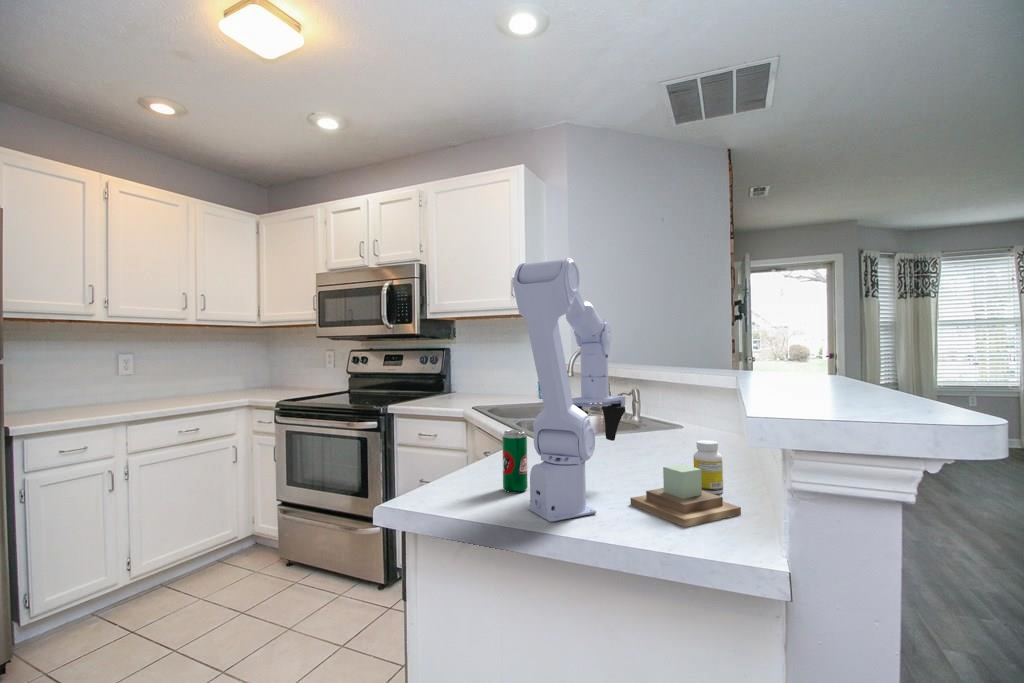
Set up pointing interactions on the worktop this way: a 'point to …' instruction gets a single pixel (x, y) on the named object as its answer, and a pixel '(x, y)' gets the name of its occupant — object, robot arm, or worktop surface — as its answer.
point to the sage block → (682, 481)
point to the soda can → (514, 461)
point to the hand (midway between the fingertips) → (595, 441)
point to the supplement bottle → (709, 466)
